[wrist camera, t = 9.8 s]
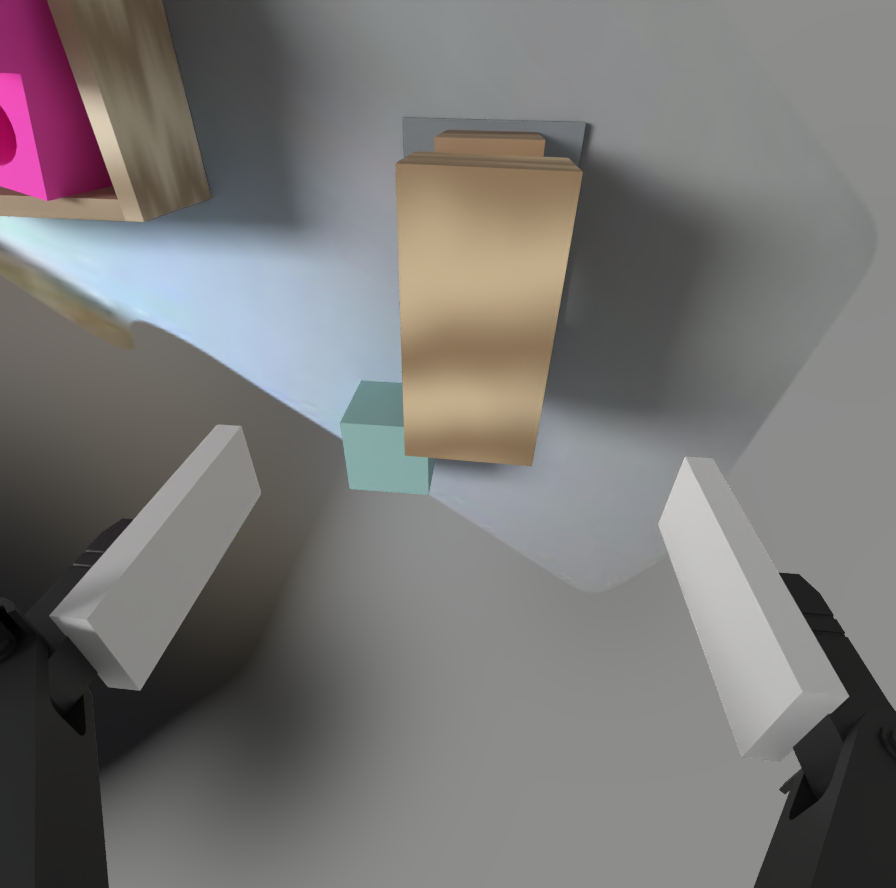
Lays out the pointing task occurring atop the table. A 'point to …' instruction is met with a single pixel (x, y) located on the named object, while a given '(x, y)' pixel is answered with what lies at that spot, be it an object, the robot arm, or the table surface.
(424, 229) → the lintel
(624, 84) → the table surface
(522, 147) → the pillar
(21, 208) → the wooden open box
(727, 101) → the table surface
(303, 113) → the table surface
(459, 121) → the mat
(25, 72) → the bracket
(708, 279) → the table surface
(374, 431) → the cube
